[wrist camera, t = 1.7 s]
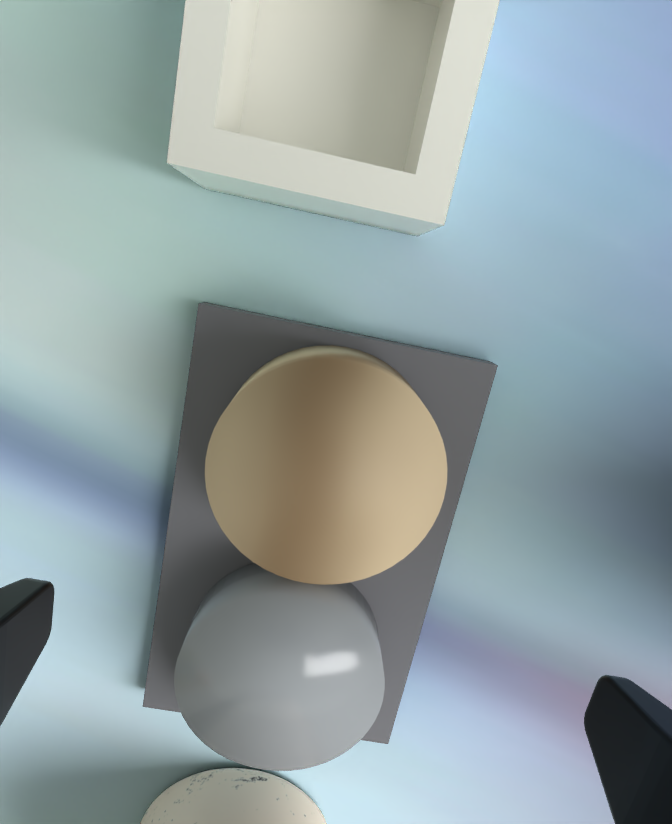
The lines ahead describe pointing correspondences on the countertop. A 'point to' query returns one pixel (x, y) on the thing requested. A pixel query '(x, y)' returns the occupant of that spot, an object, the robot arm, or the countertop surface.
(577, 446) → the countertop surface
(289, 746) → the grey puck
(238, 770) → the teacup with lid
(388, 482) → the cork lid
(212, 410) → the mat
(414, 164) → the open white box
